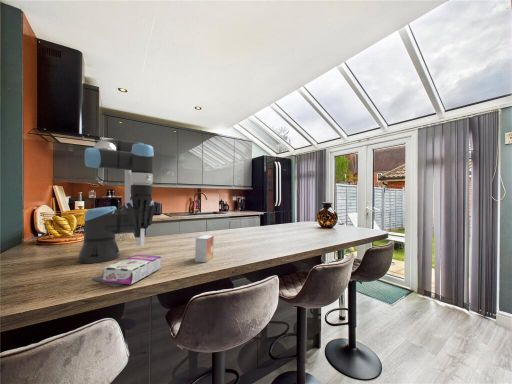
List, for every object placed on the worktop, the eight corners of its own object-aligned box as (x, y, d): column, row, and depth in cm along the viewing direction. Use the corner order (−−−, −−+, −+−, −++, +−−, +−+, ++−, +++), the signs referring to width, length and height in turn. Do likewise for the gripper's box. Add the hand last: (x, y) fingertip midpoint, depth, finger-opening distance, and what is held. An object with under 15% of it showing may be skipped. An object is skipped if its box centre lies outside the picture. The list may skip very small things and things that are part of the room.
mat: (92, 279, 74) (92, 278, 74) (131, 267, 87) (131, 266, 87) (115, 287, 68) (115, 286, 68) (153, 273, 81) (153, 272, 81)
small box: (206, 262, 95) (206, 238, 95) (194, 261, 96) (195, 238, 96) (213, 257, 103) (214, 235, 103) (202, 256, 104) (203, 234, 104)
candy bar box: (136, 266, 87) (101, 282, 71) (137, 254, 87) (101, 266, 71) (161, 268, 85) (131, 285, 69) (162, 256, 85) (131, 269, 69)
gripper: (132, 183, 76) (130, 250, 76) (162, 185, 88) (160, 243, 88) (119, 183, 79) (117, 247, 79) (149, 185, 91) (148, 240, 91)
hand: (140, 245), depth 83 cm, fingers closed
